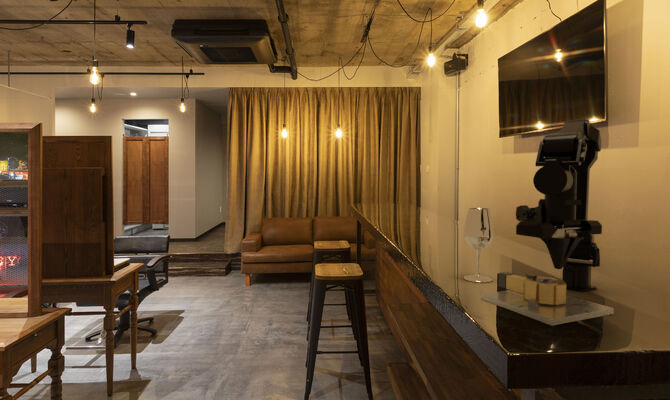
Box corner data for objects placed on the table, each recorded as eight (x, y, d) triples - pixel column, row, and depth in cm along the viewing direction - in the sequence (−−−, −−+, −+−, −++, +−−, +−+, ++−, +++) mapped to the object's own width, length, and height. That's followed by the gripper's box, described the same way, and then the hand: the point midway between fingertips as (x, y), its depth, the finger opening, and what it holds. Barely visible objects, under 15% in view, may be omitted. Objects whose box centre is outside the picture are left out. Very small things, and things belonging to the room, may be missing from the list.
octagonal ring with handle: (514, 284, 95) (515, 266, 95) (573, 302, 81) (574, 280, 80) (490, 287, 92) (490, 268, 91) (547, 306, 78) (547, 284, 77)
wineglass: (491, 277, 109) (493, 208, 108) (493, 284, 102) (495, 209, 101) (463, 275, 111) (464, 207, 111) (462, 281, 104) (464, 208, 103)
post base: (537, 291, 95) (537, 267, 94) (613, 313, 78) (614, 285, 78) (481, 299, 88) (481, 273, 87) (551, 325, 71) (552, 293, 71)
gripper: (556, 193, 90) (554, 258, 91) (496, 193, 83) (494, 264, 83) (604, 194, 80) (602, 268, 80) (541, 195, 73) (539, 275, 73)
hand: (558, 268), depth 80 cm, fingers closed
